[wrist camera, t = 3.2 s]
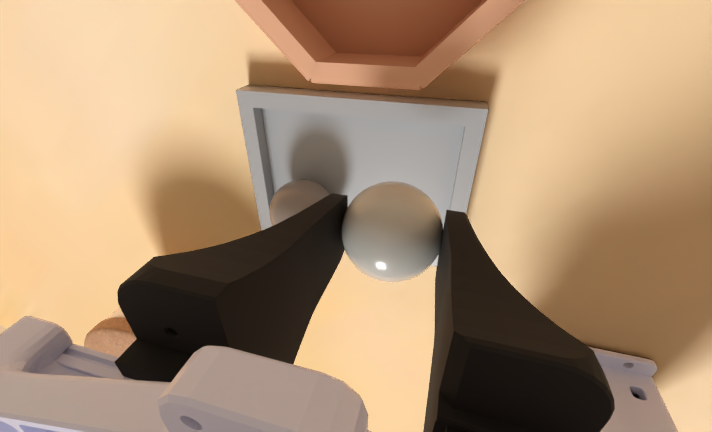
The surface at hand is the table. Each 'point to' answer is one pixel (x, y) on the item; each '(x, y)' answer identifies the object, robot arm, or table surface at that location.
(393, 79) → the bowl
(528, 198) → the table surface
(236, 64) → the table surface
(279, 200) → the pebble dark
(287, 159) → the tray
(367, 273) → the pebble grey
